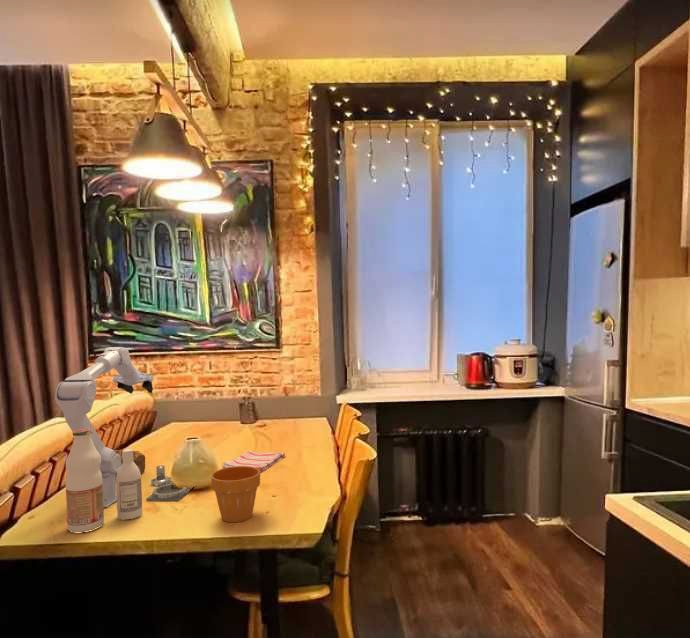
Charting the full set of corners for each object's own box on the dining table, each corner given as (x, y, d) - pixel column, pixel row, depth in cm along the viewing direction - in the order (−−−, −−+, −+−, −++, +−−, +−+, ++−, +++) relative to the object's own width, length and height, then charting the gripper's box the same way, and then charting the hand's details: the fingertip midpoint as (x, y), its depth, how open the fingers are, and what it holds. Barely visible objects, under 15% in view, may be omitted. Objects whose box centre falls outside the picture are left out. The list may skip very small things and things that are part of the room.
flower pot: (240, 504, 163) (239, 463, 163) (271, 514, 154) (270, 470, 154) (202, 519, 152) (201, 474, 152) (233, 530, 143) (231, 484, 143)
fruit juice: (74, 537, 142) (70, 435, 141) (62, 528, 148) (58, 431, 148) (109, 526, 149) (105, 429, 148) (96, 518, 155) (92, 425, 155)
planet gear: (166, 486, 182) (165, 469, 182) (147, 486, 183) (146, 469, 183) (174, 480, 189) (173, 463, 189) (156, 480, 190) (155, 463, 190)
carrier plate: (179, 501, 167) (178, 489, 167) (146, 501, 168) (145, 489, 168) (196, 485, 182) (196, 474, 182) (166, 485, 183) (165, 474, 183)
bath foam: (146, 515, 156) (144, 449, 156) (123, 523, 151) (121, 454, 150) (136, 510, 161) (133, 446, 160) (113, 517, 155) (111, 450, 155)
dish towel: (220, 471, 199) (220, 462, 199) (250, 455, 221) (249, 447, 221) (260, 475, 194) (259, 465, 194) (286, 457, 216) (286, 449, 216)
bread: (85, 481, 191) (84, 454, 191) (100, 472, 201) (99, 447, 201) (134, 481, 190) (133, 454, 190) (147, 472, 201) (146, 446, 200)
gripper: (149, 360, 188) (162, 381, 198) (111, 362, 189) (126, 382, 199) (144, 377, 183) (158, 397, 193) (105, 378, 184) (120, 398, 195)
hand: (141, 391), depth 196 cm, fingers open, 7 cm apart
